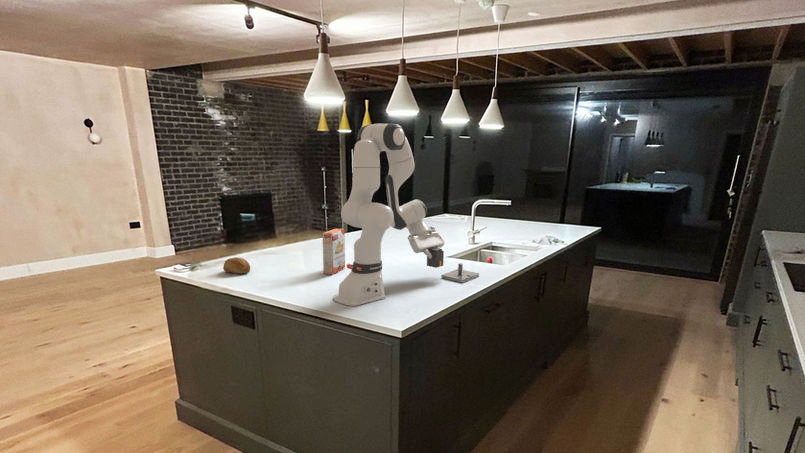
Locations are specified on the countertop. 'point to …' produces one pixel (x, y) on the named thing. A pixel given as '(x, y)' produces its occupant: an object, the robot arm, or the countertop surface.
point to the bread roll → (236, 265)
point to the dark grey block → (435, 257)
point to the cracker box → (333, 251)
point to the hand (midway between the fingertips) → (436, 256)
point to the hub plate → (460, 275)
